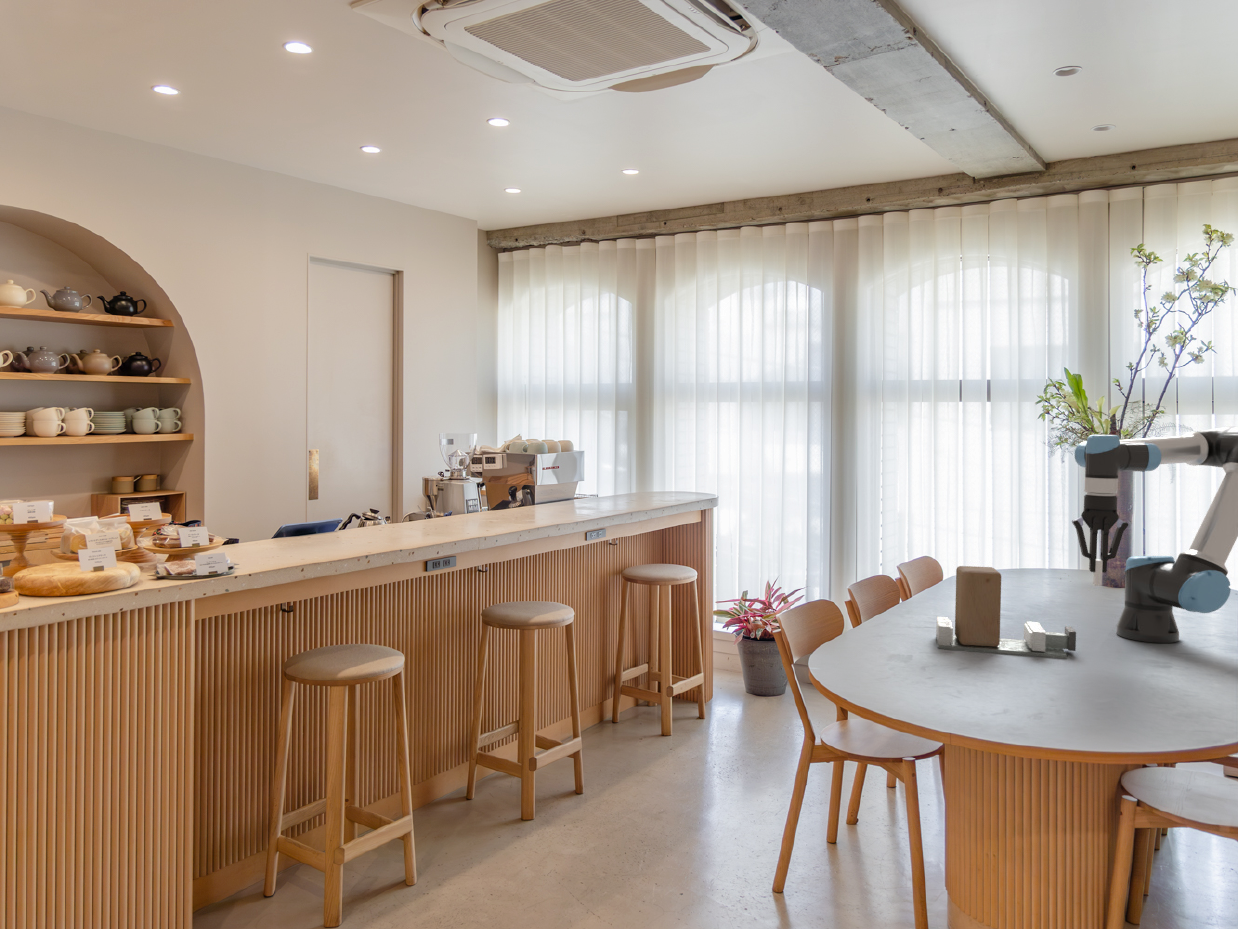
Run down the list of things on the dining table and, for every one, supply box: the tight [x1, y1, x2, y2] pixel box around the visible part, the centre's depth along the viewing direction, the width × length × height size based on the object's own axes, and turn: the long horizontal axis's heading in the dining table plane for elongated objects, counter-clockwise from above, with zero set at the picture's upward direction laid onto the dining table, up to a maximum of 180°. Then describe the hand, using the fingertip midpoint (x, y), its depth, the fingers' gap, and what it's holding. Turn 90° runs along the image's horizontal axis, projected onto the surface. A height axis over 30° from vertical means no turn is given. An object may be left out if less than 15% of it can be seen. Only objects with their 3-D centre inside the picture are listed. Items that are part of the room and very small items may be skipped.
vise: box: [935, 616, 1068, 660], centre depth 234 cm, size 31×13×6 cm, turn 72°
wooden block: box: [954, 565, 1002, 647], centre depth 235 cm, size 10×10×20 cm
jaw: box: [1023, 621, 1077, 652], centre depth 230 cm, size 11×12×5 cm
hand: (1097, 584), depth 226 cm, fingers closed
